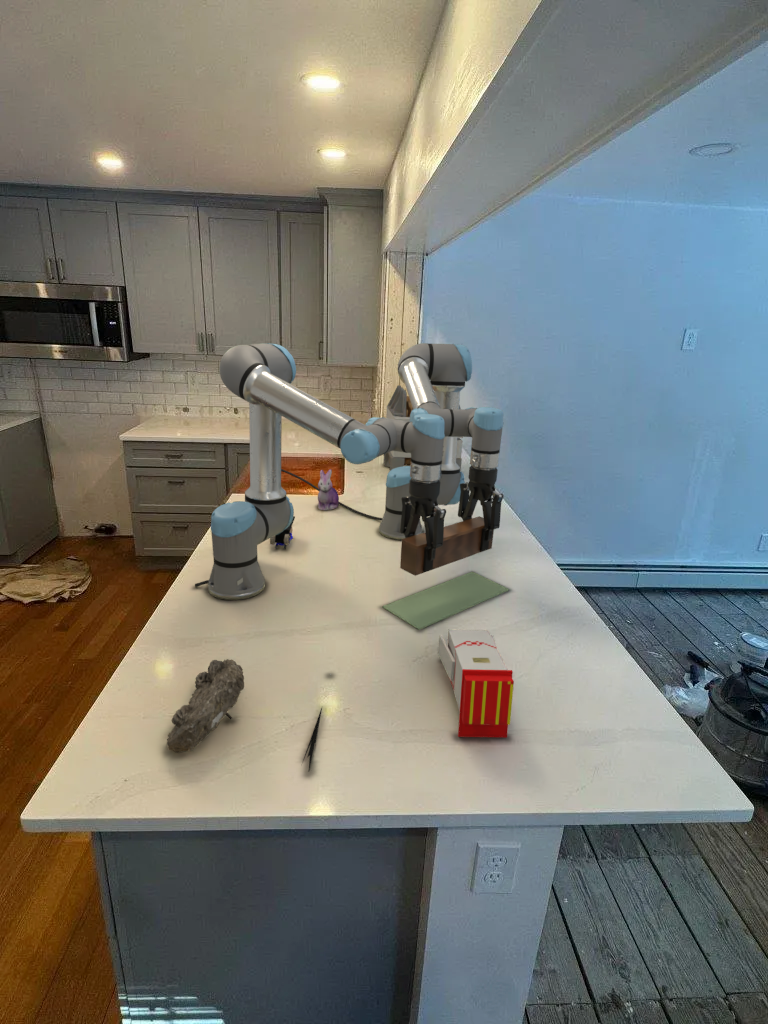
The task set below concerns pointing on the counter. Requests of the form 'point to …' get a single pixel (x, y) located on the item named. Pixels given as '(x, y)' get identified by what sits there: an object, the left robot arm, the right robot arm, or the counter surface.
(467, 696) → the toy
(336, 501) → the figurine
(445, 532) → the walnut box
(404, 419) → the grey slatted box
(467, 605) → the mat
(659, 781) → the counter surface
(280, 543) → the figurine character
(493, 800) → the counter surface
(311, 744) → the feather
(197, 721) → the fossil
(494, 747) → the counter surface
